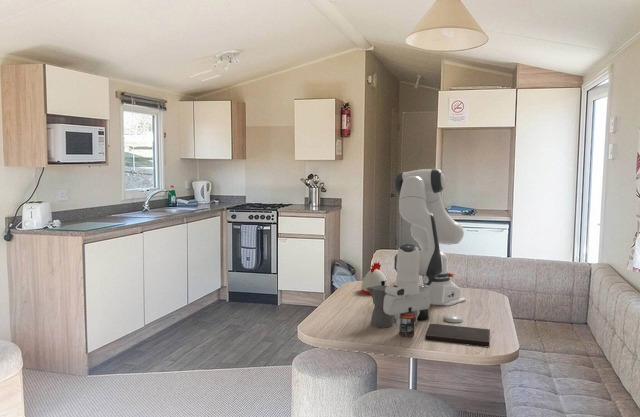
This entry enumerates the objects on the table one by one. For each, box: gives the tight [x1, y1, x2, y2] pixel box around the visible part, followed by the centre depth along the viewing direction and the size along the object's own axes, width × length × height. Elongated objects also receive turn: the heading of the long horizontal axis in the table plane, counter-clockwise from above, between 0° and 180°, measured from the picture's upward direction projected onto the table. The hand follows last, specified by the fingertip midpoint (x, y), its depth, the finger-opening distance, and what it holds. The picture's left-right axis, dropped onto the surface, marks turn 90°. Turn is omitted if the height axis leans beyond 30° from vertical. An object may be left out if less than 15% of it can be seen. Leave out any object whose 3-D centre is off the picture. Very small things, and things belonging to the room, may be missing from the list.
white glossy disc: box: [443, 314, 464, 324], centre depth 226 cm, size 8×8×1 cm
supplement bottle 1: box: [398, 307, 416, 338], centre depth 206 cm, size 6×6×11 cm
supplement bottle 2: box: [417, 307, 430, 322], centre depth 227 cm, size 7×7×12 cm
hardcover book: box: [424, 322, 491, 347], centre depth 205 cm, size 16×23×2 cm
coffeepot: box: [367, 281, 395, 328], centre depth 219 cm, size 15×9×18 cm, turn 82°
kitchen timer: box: [361, 262, 389, 296], centre depth 274 cm, size 14×14×15 cm
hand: (406, 323), depth 206 cm, fingers closed on supplement bottle 1, 6 cm apart
